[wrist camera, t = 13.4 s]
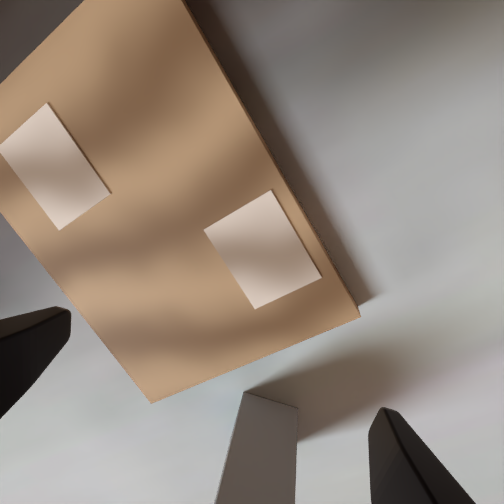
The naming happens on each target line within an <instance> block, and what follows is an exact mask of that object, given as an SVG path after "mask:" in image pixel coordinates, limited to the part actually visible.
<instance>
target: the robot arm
mask: <svg viewBox="0 0 504 504" xmlns="http://www.w3.org/2000/svg"><path fill="white" fill-rule="evenodd" d="M70 333H71V312H70V311H69V310H68V309H64V308H61V307H57V306H55V307H50V308H46V309H42V310H38V311H34V312H30V313H26V314H21V315H17V316H13V317H9V318H5V319H1V320H0V419H1V418H2V416H3V415H4V414H5V413H6V412H7V411H8V410H9V409H10V408H11V407H12V406H13V405H14V404H15V403H16V402H17V401H18V400H19V399H20V398H21V397H22V396H23V395H24V394H25V393H26V392H27V390H28V389H29V388H30V387H31V386H32V385H33V384H34V383H35V381H36V380H37V379H38V378H39V376H40V375H41V374H42V373H43V371H44V370H45V369H46V368H47V367H48V365H49V364H50V363H51V362H52V360H53V359H54V358H55V357H56V355H57V354H58V353H59V352H60V350H61V349H62V348H63V347H64V345H65V344H66V343H67V341H68V340H69V337H70ZM368 443H369V467H370V490H371V502H372V504H476V503H475V502H474V501H473V500H472V499H471V497H470V496H469V495H468V494H467V493H466V491H465V490H464V489H463V488H462V487H461V486H460V484H459V483H458V482H457V481H456V480H455V478H454V477H453V476H452V475H451V474H450V473H449V471H448V470H447V469H446V468H445V467H444V465H443V464H442V463H441V462H440V461H439V460H438V458H437V457H436V456H435V455H434V454H433V452H432V451H431V450H430V449H429V448H428V447H427V445H426V444H425V443H424V442H423V441H422V439H421V438H420V437H419V436H418V435H417V434H416V432H415V431H414V430H413V429H412V428H411V426H410V425H409V424H408V423H407V422H406V421H405V419H404V418H403V417H402V416H401V415H400V414H399V412H397V411H395V410H392V409H389V408H385V407H382V408H380V409H379V411H378V413H377V415H376V417H375V419H374V421H373V423H372V425H371V427H370V429H369V434H368Z"/></svg>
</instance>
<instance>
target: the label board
mask: <svg viewBox="0 0 504 504" xmlns="http://www.w3.org/2000/svg"><path fill="white" fill-rule="evenodd" d="M0 212H1V213H2V215H3V216H4V217H5V218H6V220H7V221H8V222H9V224H10V225H11V226H12V227H13V229H14V230H15V231H16V232H17V234H18V235H19V236H20V238H21V239H22V240H23V241H24V243H25V244H26V245H27V246H28V248H29V249H30V250H31V251H32V253H33V254H34V255H35V257H36V258H37V259H38V260H39V262H40V263H41V264H42V265H43V267H44V268H45V269H46V271H47V272H48V273H49V274H50V276H51V277H52V278H53V279H54V281H55V282H56V283H57V285H58V286H59V287H60V288H61V290H62V291H63V292H64V293H65V295H66V296H67V297H68V298H69V300H70V301H71V302H72V304H73V305H74V306H75V307H76V309H77V310H78V311H79V312H80V314H81V315H82V316H83V318H84V319H85V320H86V321H87V323H88V324H89V325H90V326H91V328H92V329H93V330H94V332H95V333H96V334H97V335H98V337H99V338H100V339H101V340H102V342H103V343H104V344H105V345H106V347H107V348H108V349H109V351H110V352H111V353H112V354H113V356H114V357H115V358H116V359H117V361H118V362H119V363H120V365H121V366H122V367H123V368H124V370H125V371H126V372H127V373H128V375H129V376H130V377H131V378H132V380H133V381H134V382H135V384H136V385H137V386H138V387H139V389H140V390H141V391H142V392H143V394H144V395H145V396H146V398H147V399H148V400H149V401H150V403H151V404H152V403H154V402H157V401H159V400H161V399H164V398H166V397H169V396H171V395H174V394H176V393H178V392H181V391H183V390H186V389H188V388H190V387H193V386H195V385H198V384H200V383H203V382H205V381H207V380H210V379H212V378H215V377H217V376H219V375H222V374H224V373H227V372H229V371H232V370H234V369H236V368H239V367H241V366H244V365H246V364H248V363H251V362H253V361H256V360H258V359H261V358H263V357H265V356H268V355H270V354H273V353H275V352H277V351H280V350H282V349H285V348H287V347H290V346H292V345H294V344H297V343H299V342H302V341H304V340H306V339H309V338H311V337H314V336H316V335H319V334H321V333H323V332H326V331H328V330H331V329H333V328H335V327H338V326H340V325H343V324H345V323H348V322H350V321H352V320H355V319H357V318H360V317H361V315H360V312H359V309H358V306H357V304H356V303H355V301H354V299H353V297H352V295H351V294H350V292H349V290H348V288H347V287H346V285H345V283H344V281H343V280H342V278H341V276H340V274H339V272H338V271H337V269H336V267H335V265H334V264H333V262H332V260H331V258H330V257H329V255H328V253H327V251H326V249H325V248H324V246H323V244H322V242H321V241H320V239H319V237H318V235H317V234H316V232H315V230H314V228H313V227H312V225H311V223H310V221H309V219H308V218H307V216H306V214H305V212H304V211H303V209H302V207H301V205H300V204H299V202H298V200H297V198H296V196H295V195H294V193H293V191H292V189H291V188H290V186H289V184H288V182H287V181H286V179H285V177H284V175H283V173H282V172H281V170H280V168H279V166H278V165H277V163H276V161H275V159H274V158H273V156H272V154H271V152H270V151H269V149H268V147H267V145H266V143H265V142H264V140H263V138H262V136H261V135H260V133H259V131H258V129H257V128H256V126H255V124H254V122H253V120H252V119H251V117H250V115H249V113H248V112H247V110H246V108H245V106H244V105H243V103H242V101H241V99H240V97H239V96H238V94H237V92H236V90H235V89H234V87H233V85H232V83H231V82H230V80H229V78H228V76H227V75H226V73H225V71H224V69H223V67H222V66H221V64H220V62H219V60H218V59H217V57H216V55H215V53H214V52H213V50H212V48H211V46H210V44H209V43H208V41H207V39H206V37H205V36H204V34H203V32H202V30H201V29H200V27H199V25H198V23H197V21H196V20H195V18H194V16H193V14H192V13H191V11H190V9H189V7H188V6H187V4H186V2H185V0H84V1H83V2H82V3H81V4H80V5H79V6H78V7H77V8H76V9H75V10H74V11H73V12H72V13H71V14H70V15H69V16H68V17H67V18H66V19H65V20H64V21H63V22H62V23H61V24H60V25H59V26H58V27H57V28H56V29H55V30H54V31H53V32H52V33H51V34H50V35H49V36H48V37H47V38H46V39H45V40H44V41H43V42H42V43H41V44H40V45H39V46H38V47H37V48H36V49H35V50H34V51H33V52H32V53H31V54H30V55H29V56H28V57H27V58H26V59H25V60H24V61H23V62H22V63H21V64H20V65H19V66H18V67H17V68H16V69H15V70H14V71H13V72H12V73H11V74H10V75H9V76H8V77H7V78H6V79H5V80H4V81H3V82H2V83H1V84H0Z"/></svg>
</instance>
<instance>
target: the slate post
mask: <svg viewBox="0 0 504 504" xmlns="http://www.w3.org/2000/svg"><path fill="white" fill-rule="evenodd" d="M297 425H298V408H295V407H291V406H288V405H285V404H281V403H278V402H275V401H272V400H268V399H265V398H262V397H259V396H255V395H252V394H249V393H245V392H243V396H242V400H241V403H240V407H239V410H238V414H237V418H236V421H235V425H234V428H233V432H232V436H231V440H230V444H229V448H228V451H227V455H226V459H225V463H224V467H223V471H222V475H221V479H220V483H219V487H218V491H217V495H216V499H215V502H214V504H295V485H296V455H297Z"/></svg>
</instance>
